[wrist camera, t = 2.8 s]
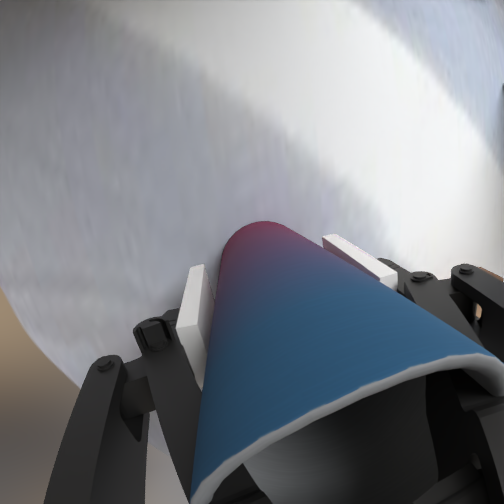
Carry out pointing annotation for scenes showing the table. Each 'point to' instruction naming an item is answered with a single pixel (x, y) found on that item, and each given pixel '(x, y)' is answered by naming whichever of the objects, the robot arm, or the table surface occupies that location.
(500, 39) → the table surface
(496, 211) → the table surface
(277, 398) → the cup
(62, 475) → the robot arm
